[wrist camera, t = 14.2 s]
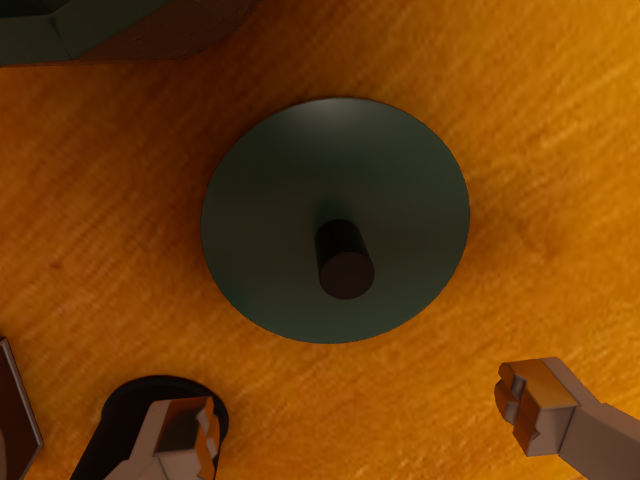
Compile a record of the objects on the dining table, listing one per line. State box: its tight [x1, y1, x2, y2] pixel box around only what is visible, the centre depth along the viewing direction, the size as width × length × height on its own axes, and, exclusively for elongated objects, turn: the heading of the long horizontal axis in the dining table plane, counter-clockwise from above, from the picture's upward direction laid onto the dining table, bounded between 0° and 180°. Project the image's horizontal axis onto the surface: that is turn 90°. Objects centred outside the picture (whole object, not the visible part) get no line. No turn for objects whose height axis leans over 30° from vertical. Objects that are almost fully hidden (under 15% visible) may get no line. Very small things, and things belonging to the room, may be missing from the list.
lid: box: [201, 96, 470, 344], centre depth 18 cm, size 14×14×5 cm
